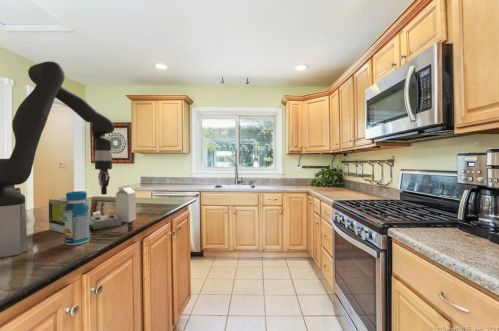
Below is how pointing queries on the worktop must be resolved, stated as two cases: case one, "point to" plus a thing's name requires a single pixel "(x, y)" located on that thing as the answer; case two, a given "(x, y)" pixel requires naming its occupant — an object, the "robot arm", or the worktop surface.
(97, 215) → the paddle white
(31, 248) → the worktop surface
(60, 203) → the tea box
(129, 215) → the milk carton
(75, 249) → the worktop surface
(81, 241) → the blue plastic bottle
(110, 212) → the paddle orange
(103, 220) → the switch box
